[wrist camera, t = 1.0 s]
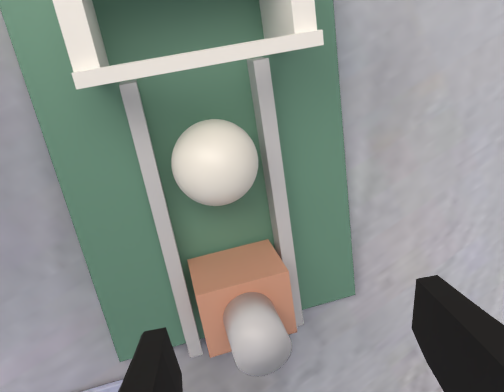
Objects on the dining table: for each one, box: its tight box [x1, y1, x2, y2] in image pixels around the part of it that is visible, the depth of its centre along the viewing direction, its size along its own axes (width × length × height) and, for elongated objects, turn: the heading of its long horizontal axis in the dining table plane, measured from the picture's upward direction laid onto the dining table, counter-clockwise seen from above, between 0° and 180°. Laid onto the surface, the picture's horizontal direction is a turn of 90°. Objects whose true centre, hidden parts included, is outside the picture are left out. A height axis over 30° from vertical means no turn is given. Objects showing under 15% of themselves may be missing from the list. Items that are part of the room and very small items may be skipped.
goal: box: [52, 0, 324, 89], centre depth 19 cm, size 5×10×6 cm, turn 99°
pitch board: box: [0, 0, 355, 362], centre depth 24 cm, size 22×16×2 cm
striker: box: [187, 239, 297, 376], centre depth 24 cm, size 4×5×7 cm
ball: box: [171, 119, 258, 206], centre depth 22 cm, size 4×4×4 cm
